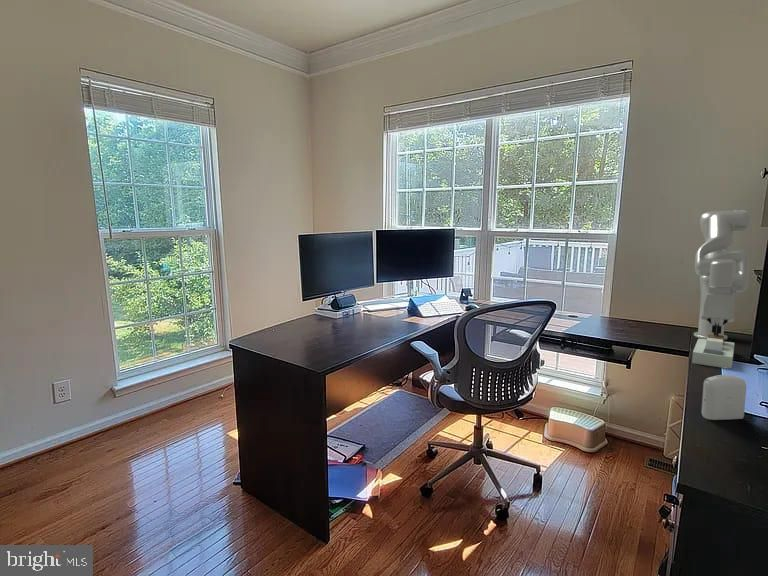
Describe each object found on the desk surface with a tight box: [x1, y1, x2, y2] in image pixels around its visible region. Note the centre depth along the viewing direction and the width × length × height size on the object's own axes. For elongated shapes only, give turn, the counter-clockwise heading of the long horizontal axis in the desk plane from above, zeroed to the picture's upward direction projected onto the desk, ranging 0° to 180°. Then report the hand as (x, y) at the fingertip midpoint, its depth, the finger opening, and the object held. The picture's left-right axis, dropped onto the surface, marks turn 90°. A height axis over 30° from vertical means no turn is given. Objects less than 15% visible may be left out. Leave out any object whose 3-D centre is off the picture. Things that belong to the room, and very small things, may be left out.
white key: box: [706, 338, 723, 348], centre depth 169 cm, size 5×5×4 cm
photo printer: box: [700, 374, 747, 421], centre depth 118 cm, size 10×4×12 cm, turn 90°
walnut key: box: [708, 334, 725, 342], centre depth 175 cm, size 5×5×4 cm
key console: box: [691, 338, 735, 369], centre depth 169 cm, size 24×12×4 cm, turn 139°
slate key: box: [704, 346, 722, 355], centre depth 163 cm, size 5×5×4 cm
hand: (716, 334), depth 174 cm, fingers closed
